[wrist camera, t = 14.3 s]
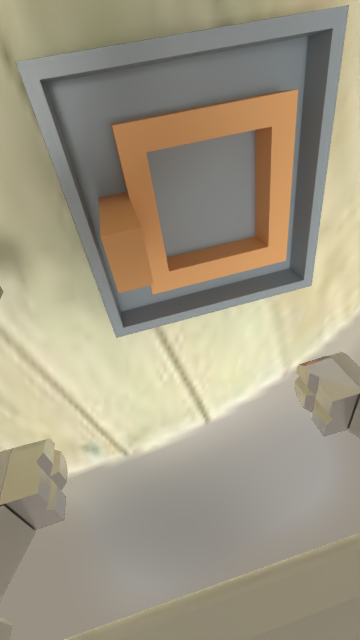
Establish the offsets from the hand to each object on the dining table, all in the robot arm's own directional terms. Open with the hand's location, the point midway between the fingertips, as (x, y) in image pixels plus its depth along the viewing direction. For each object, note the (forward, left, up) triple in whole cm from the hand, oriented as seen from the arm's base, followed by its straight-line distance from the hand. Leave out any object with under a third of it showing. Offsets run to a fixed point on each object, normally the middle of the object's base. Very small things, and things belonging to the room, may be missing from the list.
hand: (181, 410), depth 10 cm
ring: (0, +6, -22) cm, 23 cm away
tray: (0, +7, -23) cm, 24 cm away
